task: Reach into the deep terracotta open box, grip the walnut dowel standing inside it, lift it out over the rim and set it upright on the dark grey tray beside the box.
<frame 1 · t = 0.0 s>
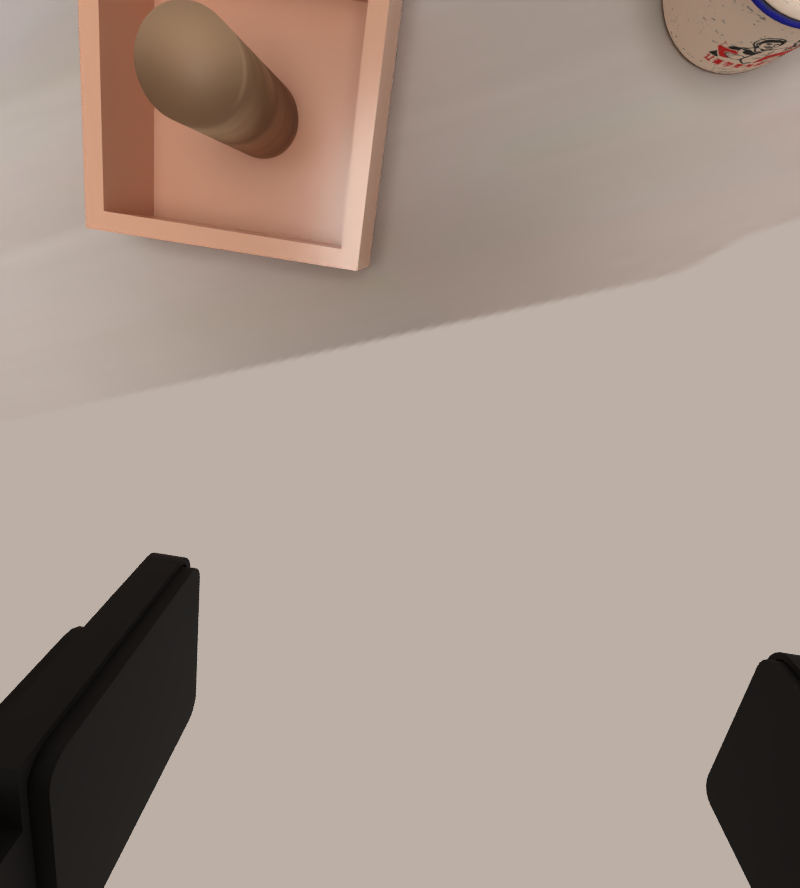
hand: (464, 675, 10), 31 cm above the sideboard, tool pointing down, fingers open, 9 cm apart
walnut dowel: (261, 117, 34), point 1 cm above the sideboard, touching terracotta open box
terracotta open box: (264, 119, 35), on the sideboard
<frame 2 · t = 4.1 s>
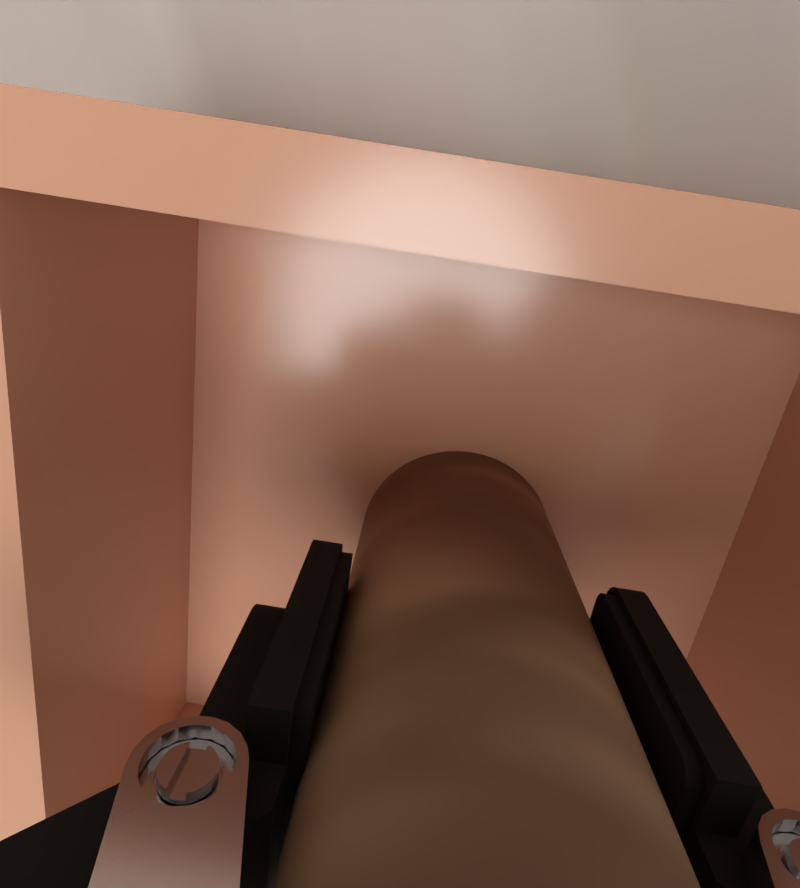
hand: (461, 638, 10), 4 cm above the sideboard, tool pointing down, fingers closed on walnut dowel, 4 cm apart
walnut dowel: (454, 537, 14), point 1 cm above the sideboard, touching gripper, terracotta open box
terracotta open box: (453, 525, 15), on the sideboard
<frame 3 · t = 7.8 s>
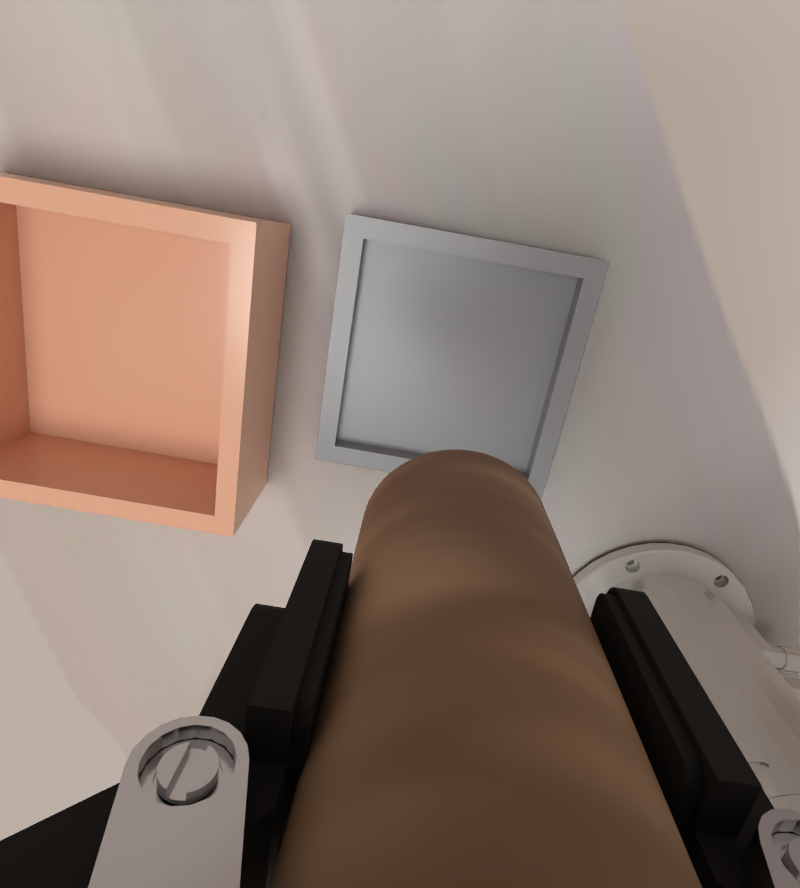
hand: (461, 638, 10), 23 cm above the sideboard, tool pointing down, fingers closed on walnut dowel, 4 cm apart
walnut dowel: (454, 536, 14), point 19 cm above the sideboard, touching gripper
grey tray: (450, 359, 32), on the sideboard
terracotta open box: (146, 341, 32), on the sideboard
when the fingers open (6 cm above the sideboard, at t = 12.0 s): walnut dowel drops 1 cm, resting on grey tray.
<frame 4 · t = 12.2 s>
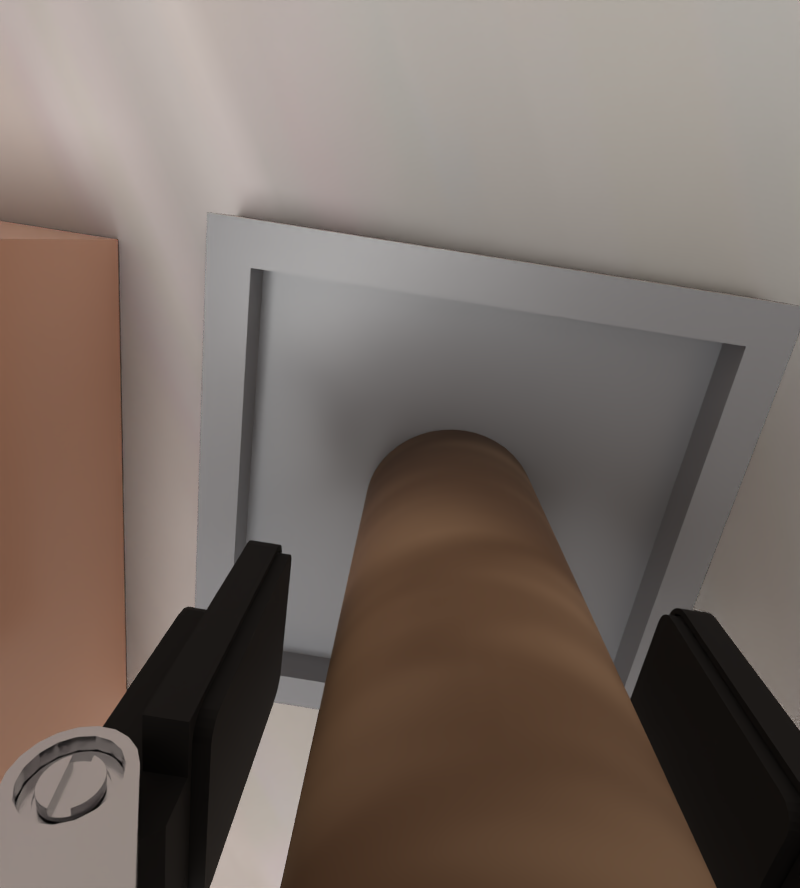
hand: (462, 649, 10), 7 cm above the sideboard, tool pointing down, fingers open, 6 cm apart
walnut dowel: (449, 509, 15), point 1 cm above the sideboard, touching grey tray
grey tray: (451, 494, 16), on the sideboard
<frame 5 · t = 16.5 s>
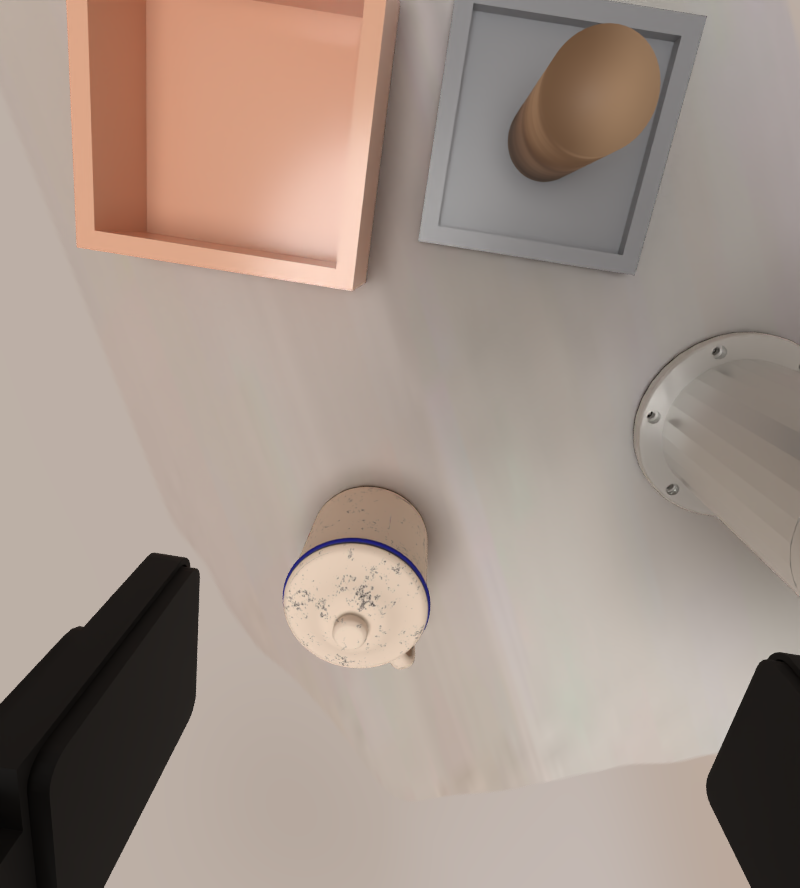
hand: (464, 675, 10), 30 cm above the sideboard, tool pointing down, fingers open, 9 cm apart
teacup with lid: (378, 551, 44), on the sideboard
walnut dowel: (547, 138, 33), point 1 cm above the sideboard, touching grey tray
grey tray: (545, 142, 34), on the sideboard
terracotta open box: (258, 134, 34), on the sideboard
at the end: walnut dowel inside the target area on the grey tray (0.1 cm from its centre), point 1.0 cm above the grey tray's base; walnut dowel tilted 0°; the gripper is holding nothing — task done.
